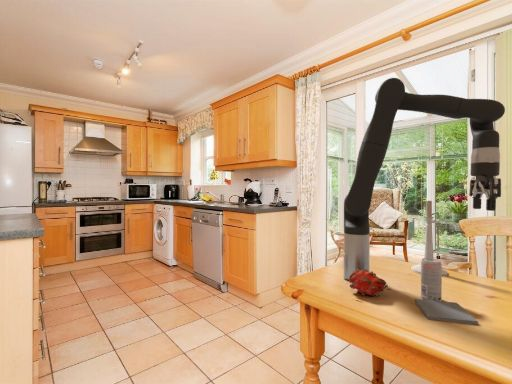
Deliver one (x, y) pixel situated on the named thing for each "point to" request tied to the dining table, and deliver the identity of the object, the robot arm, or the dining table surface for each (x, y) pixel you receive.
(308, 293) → the dining table surface
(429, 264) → the energy drink
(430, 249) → the candlestick
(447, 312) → the mat
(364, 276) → the dragon fruit
